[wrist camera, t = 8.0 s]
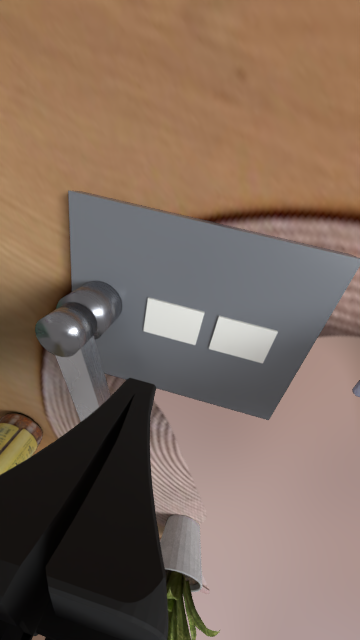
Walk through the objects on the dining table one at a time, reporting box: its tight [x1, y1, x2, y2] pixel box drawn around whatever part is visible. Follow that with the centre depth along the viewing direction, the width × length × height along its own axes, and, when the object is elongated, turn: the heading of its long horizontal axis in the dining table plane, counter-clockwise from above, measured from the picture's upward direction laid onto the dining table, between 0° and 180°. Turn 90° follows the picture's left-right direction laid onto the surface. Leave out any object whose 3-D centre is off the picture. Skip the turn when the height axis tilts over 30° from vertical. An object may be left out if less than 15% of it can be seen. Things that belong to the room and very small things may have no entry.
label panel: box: [68, 191, 360, 420], centre depth 19 cm, size 19×15×2 cm
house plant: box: [160, 515, 219, 640], centre depth 29 cm, size 14×14×16 cm
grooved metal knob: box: [56, 281, 122, 340], centre depth 18 cm, size 4×4×4 cm
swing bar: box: [35, 302, 111, 422], centre depth 18 cm, size 18×3×2 cm, turn 5°
